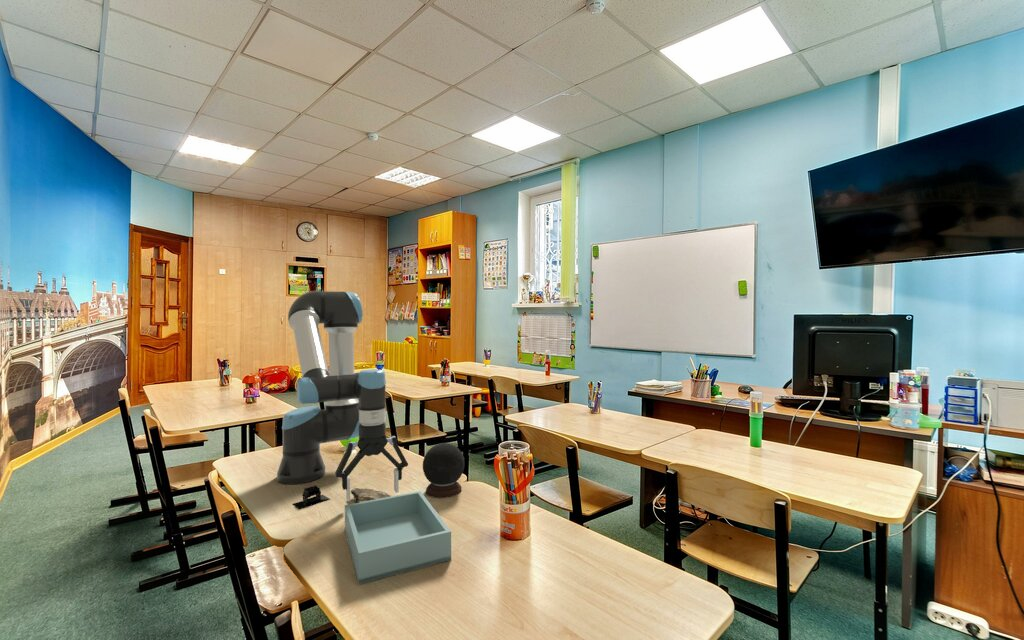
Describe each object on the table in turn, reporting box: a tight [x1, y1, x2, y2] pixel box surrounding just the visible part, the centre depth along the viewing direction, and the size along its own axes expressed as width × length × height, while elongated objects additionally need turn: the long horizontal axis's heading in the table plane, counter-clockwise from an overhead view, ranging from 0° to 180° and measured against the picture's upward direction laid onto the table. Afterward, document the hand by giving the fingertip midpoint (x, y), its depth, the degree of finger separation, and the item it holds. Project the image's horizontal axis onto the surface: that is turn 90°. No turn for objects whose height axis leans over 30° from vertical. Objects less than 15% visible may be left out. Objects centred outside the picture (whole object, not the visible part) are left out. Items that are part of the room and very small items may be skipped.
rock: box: [350, 487, 392, 503], centre depth 129 cm, size 18×11×4 cm, turn 73°
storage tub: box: [344, 490, 452, 585], centre depth 107 cm, size 26×20×6 cm
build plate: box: [291, 485, 331, 510], centre depth 132 cm, size 12×7×5 cm, turn 137°
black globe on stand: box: [422, 442, 465, 499], centre depth 139 cm, size 13×13×15 cm
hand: (372, 495), depth 128 cm, fingers open, 13 cm apart
